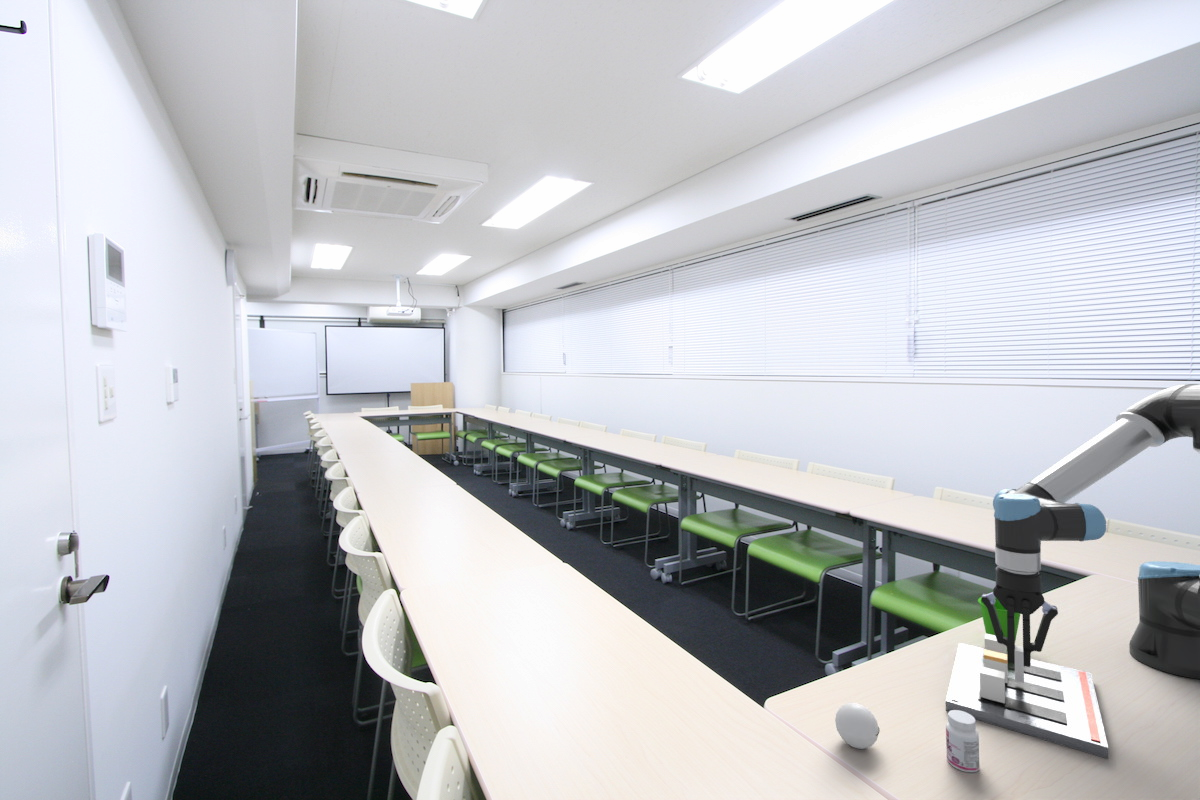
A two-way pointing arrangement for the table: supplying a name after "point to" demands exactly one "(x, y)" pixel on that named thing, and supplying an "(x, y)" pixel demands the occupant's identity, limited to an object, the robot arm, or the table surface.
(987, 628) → the cup
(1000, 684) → the block
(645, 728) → the table surface
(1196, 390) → the robot arm
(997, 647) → the block
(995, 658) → the block
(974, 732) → the pill bottle
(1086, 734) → the panel
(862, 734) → the white oval ovoid
